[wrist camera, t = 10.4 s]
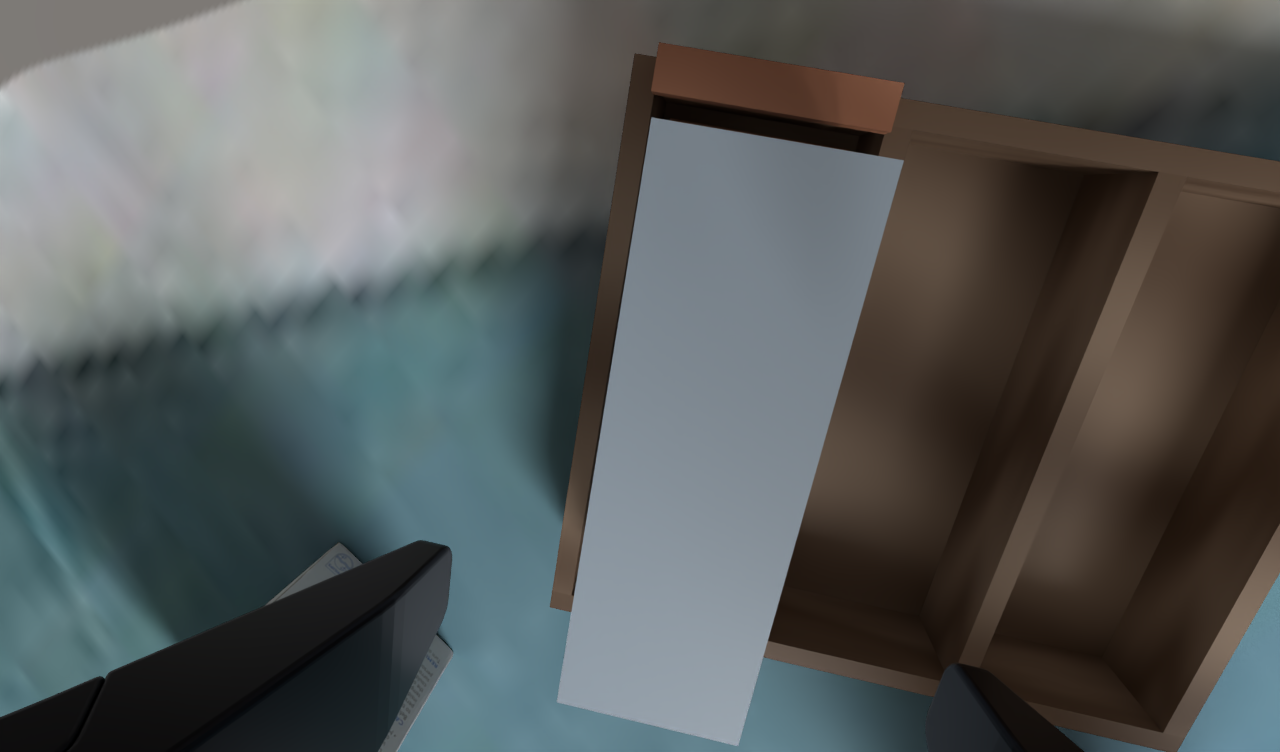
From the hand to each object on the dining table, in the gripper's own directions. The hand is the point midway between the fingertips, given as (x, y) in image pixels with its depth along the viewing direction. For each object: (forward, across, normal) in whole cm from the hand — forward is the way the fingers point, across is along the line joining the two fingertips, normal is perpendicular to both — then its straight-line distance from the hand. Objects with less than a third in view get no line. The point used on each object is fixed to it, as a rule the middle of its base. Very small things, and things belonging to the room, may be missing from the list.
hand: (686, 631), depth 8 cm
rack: (+13, -6, 0) cm, 14 cm away
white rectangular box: (+12, 0, 0) cm, 12 cm away
